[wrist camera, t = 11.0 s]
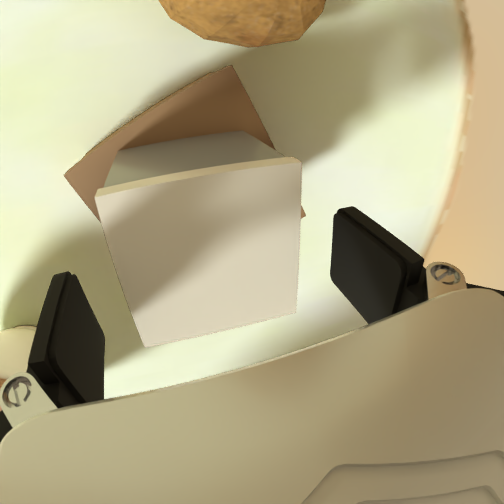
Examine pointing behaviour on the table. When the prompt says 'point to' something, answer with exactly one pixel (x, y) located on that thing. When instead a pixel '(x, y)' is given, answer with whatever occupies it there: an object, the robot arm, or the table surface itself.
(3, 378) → the lidded bowl
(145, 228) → the beige cube
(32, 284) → the table surface
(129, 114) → the table surface
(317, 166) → the table surface
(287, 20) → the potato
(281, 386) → the robot arm
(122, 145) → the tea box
